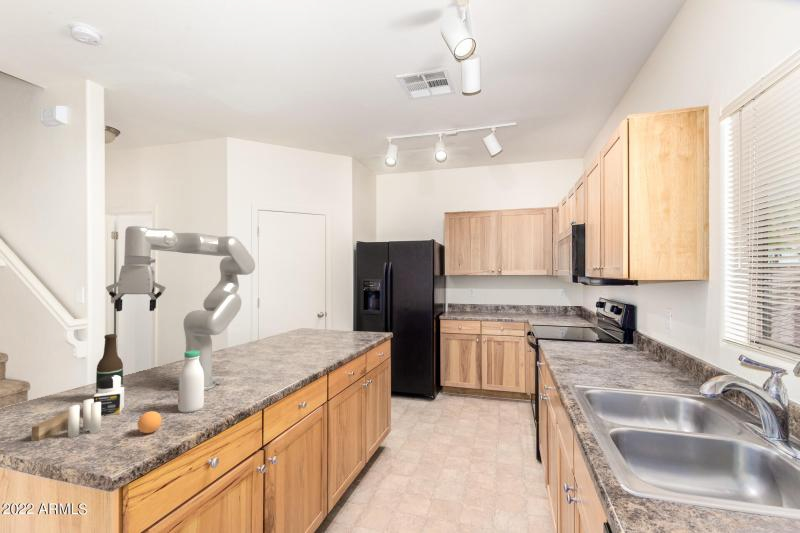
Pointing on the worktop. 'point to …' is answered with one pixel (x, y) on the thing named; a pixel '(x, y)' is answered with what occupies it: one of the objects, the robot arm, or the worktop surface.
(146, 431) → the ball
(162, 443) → the worktop surface
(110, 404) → the medicine bottle
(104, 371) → the beer bottle
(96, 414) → the pin front
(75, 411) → the pin
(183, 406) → the milk bottle
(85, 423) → the pin
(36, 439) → the bar
